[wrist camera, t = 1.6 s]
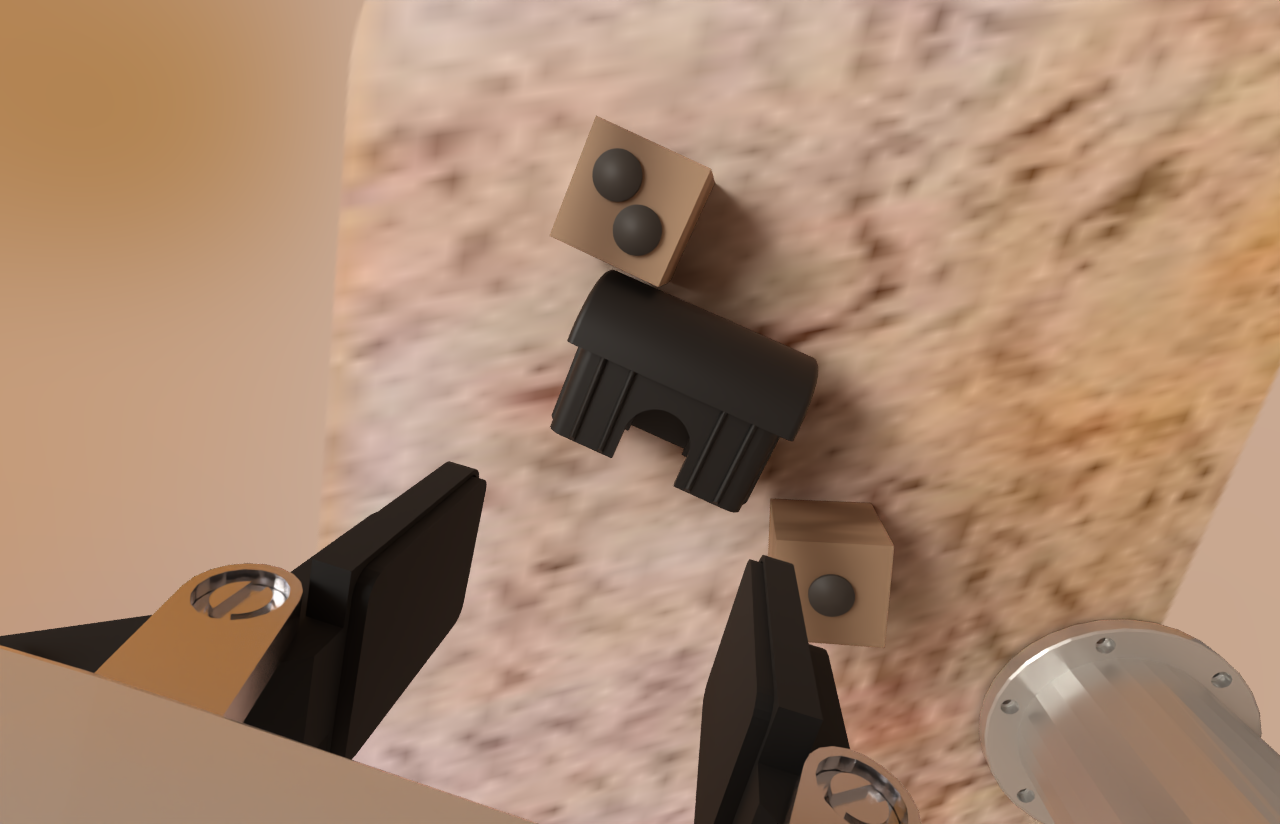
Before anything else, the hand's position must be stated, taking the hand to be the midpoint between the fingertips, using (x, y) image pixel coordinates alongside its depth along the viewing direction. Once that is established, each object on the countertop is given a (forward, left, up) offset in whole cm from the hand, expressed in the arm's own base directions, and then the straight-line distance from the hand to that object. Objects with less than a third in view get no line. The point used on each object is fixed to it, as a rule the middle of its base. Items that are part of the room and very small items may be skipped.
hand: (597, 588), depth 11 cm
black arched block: (0, 0, -22) cm, 22 cm away
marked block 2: (-9, +7, -21) cm, 24 cm away
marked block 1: (+4, -7, -21) cm, 23 cm away
